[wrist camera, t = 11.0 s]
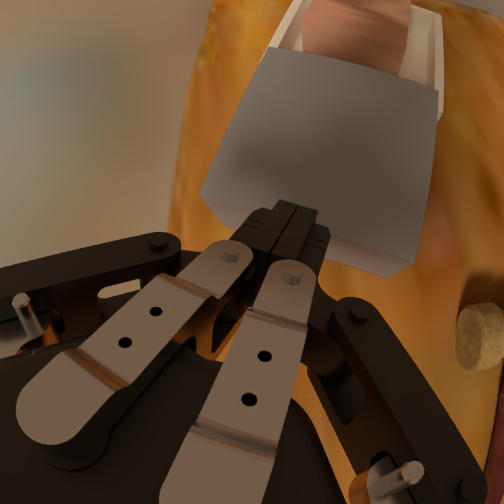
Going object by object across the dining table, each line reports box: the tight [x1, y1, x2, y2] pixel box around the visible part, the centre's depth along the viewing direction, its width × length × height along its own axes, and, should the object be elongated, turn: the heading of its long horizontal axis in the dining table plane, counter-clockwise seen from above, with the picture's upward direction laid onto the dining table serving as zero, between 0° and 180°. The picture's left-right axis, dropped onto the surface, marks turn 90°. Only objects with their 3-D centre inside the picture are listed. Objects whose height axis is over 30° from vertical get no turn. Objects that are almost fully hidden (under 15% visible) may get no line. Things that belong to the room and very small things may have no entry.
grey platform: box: [198, 47, 439, 278], centre depth 20 cm, size 12×12×6 cm
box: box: [259, 0, 444, 122], centre depth 23 cm, size 14×14×4 cm
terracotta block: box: [301, 0, 411, 76], centre depth 20 cm, size 7×7×8 cm
